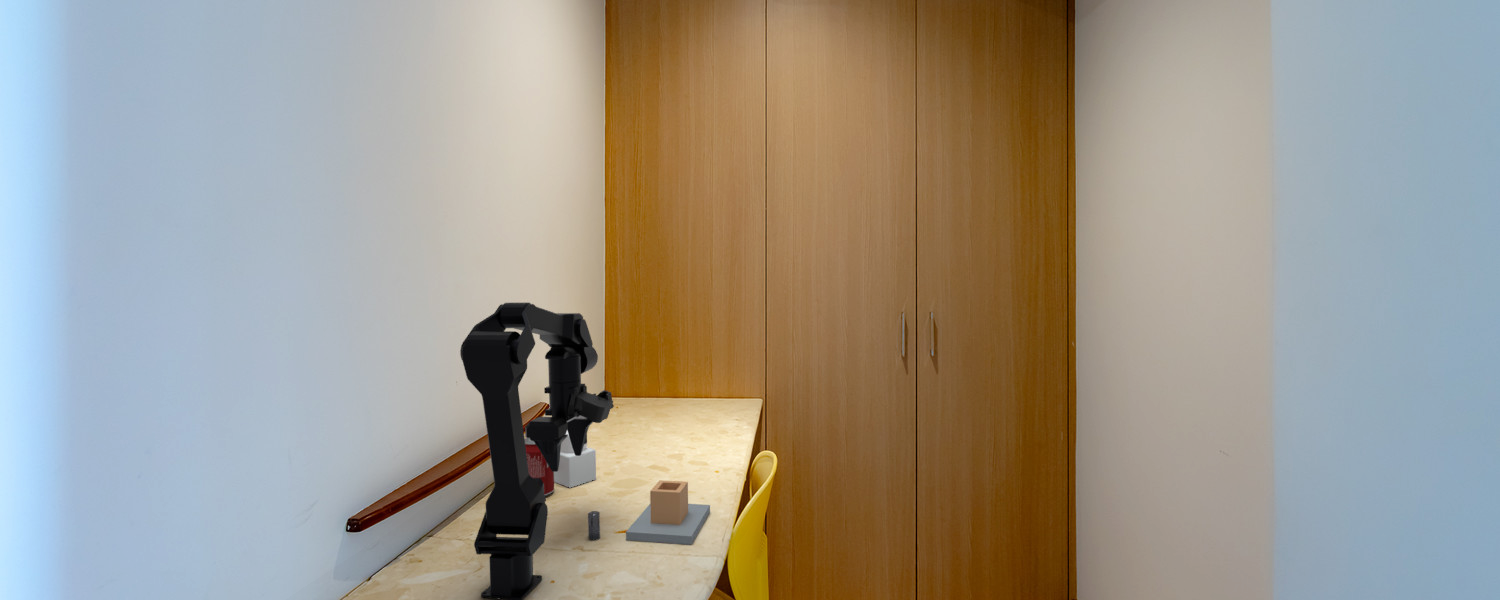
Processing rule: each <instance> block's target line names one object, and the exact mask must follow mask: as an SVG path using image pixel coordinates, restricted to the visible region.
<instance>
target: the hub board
mask: <svg viewBox="0 0 1500 600" xmlns="http://www.w3.org/2000/svg"><path fill="white" fill-rule="evenodd" d="M710 514H711V504H699V503H697V504H696V503H688V514H687V515H686V517H685V518H684V520H683V522H682V523H681V525H673V524H656V523H651V508H650V503H649V504H648V505H647V507H646V508H645V509H644V510H643V511H642V513H640V514H639V516H638V517H637V518H636V520H635V521H634V522H633V523H632V524H631V525H630V527H629V528H628V529H627V530H626V531H625V541H632V542H645V543H646V542H649V543H663V544H675V545H676V544H677V545H690V546H691V545H692V544H694V541H695V539H696V537H698V534H699V533H700V531H701V530H702V528H703V526H704V523H706V520H707V519H708V517H709V515H710Z"/></svg>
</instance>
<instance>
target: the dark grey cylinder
mask: <svg viewBox="0 0 1500 600" xmlns="http://www.w3.org/2000/svg"><path fill="white" fill-rule="evenodd" d="M600 514H601V513H600V512H599V511H597V510H595V511H594V510H593V511H589V512H588V513H587V527H588V530H587V531H588V533H587V534H588V536H587V537H588V540H589V541H597V540H600V539H601V526H600V525H601V524H600V523H601V521H600V518H601V517H600Z"/></svg>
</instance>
